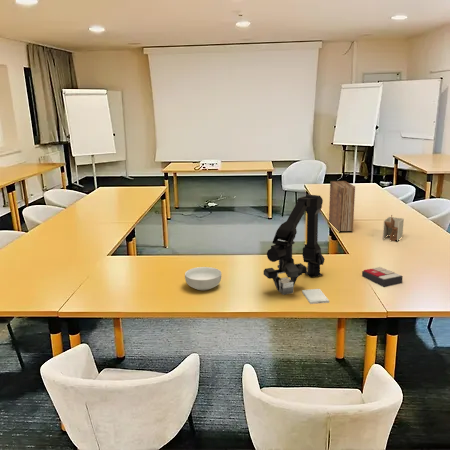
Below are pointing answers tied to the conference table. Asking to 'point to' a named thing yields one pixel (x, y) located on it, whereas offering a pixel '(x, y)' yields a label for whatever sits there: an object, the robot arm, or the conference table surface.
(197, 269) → the cereal bowl
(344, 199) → the brown wooden block
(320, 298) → the hard drive
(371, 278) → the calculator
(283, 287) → the box
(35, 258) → the conference table surface
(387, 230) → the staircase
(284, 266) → the robot arm
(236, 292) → the conference table surface
